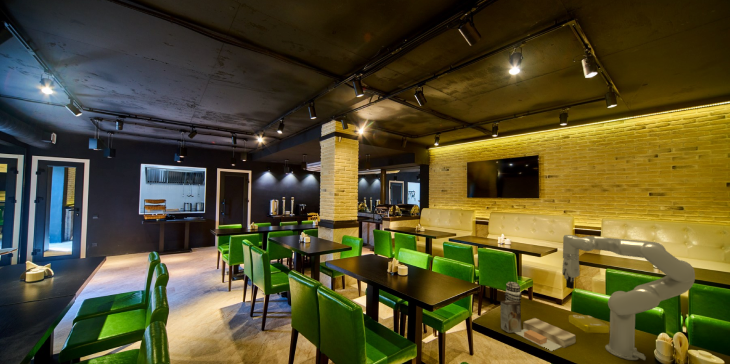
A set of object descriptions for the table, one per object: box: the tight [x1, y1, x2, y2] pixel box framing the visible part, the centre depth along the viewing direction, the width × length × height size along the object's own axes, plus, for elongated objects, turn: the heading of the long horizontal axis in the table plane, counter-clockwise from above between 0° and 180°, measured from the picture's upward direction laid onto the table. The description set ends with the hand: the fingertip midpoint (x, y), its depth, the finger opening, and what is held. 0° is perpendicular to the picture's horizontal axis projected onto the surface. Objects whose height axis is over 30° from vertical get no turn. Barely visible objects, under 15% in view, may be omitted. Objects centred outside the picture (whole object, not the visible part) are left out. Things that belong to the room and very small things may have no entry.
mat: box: [514, 329, 563, 352], centre depth 154 cm, size 20×10×1 cm, turn 29°
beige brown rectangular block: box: [522, 317, 577, 349], centre depth 159 cm, size 22×12×4 cm, turn 29°
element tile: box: [568, 314, 610, 334], centre depth 172 cm, size 15×15×5 cm
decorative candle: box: [504, 281, 522, 304], centre depth 173 cm, size 9×9×25 cm
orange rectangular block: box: [523, 330, 547, 346], centre depth 154 cm, size 9×6×2 cm, turn 28°
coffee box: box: [499, 300, 522, 334], centre depth 164 cm, size 9×6×16 cm
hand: (569, 288), depth 161 cm, fingers closed
